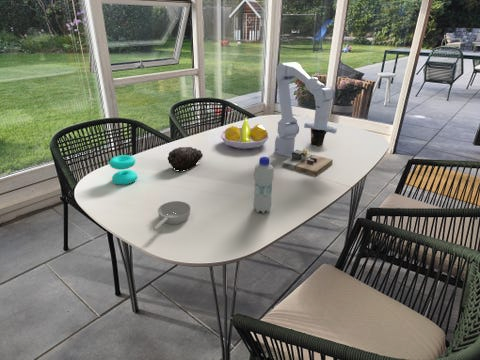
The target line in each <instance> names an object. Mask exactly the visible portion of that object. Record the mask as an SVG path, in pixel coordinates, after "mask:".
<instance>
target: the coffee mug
mask: <svg viewBox="0 0 480 360" xmlns="http://www.w3.org/2000/svg"><path fill="white" fill-rule="evenodd" d="M312 131H313V129H311V128H310V145H312V146H314V147H317V146H316V144H315V139H314V136H313V133H312ZM325 137H326V135H325V136H324V137H323V139H322V142H321V145H322V146H323V145H324V140H325ZM321 145H320V146H319V147H321Z"/></svg>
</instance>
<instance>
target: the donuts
mask: <svg viewBox="0 0 480 360" xmlns="http://www.w3.org/2000/svg"><path fill="white" fill-rule="evenodd" d="M108 163H109V166H110V167H111V168H112V169H115V170H118V171H117V172H115V173H114V174H113V175H112V176H111V177H112V178H111V180H112V182H113V183H114V184H115V183H116V185H118V184H127V185H130V184H129V183H131V184H133V183H134V181H135V180H136V179H137V180H138V173H137V172H135V171H133V170H131V169H130V168H132V167H133V166H134V165H135V164H136V159H135V157H134V156H132V155H128V154H121V155H116V156H113V157H112V158H110V160H109V162H108ZM129 169H130V170H129ZM137 180H136V181H137ZM136 181H135V182H136ZM132 182H133V183H132Z"/></svg>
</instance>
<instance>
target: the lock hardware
mask: <svg viewBox="0 0 480 360" xmlns="http://www.w3.org/2000/svg"><path fill="white" fill-rule="evenodd" d="M302 154H303V150H300V149H294V152H292V156H291V157H292V159H295V160H300V155H302ZM314 161H315V162H317V158H315V157H311V158H310V159H307V163H310V164H314Z"/></svg>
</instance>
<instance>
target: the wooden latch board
mask: <svg viewBox="0 0 480 360" xmlns="http://www.w3.org/2000/svg"><path fill="white" fill-rule="evenodd" d="M311 157H315V158H317V162H315V161H314V164H310V163H307V160H302V159H300V160H295V159H292V156H290V157H288V158H287V159H286V160H283V161H282V164H281V165H282V167H283V168H287V169H291V170H295V171H297V172H298V171H299V172H301V173H305V174H308V175H312V176H316V177H317V175H319V174H320V173H322V172H323V171H324V170H325V169H327V168H328V167H330V166H331V165H332V164H333V161H334V160H333V159H332V158H327V157H324V156H319V155H316V154H312V153H308V152H307V159H310V158H311Z"/></svg>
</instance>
